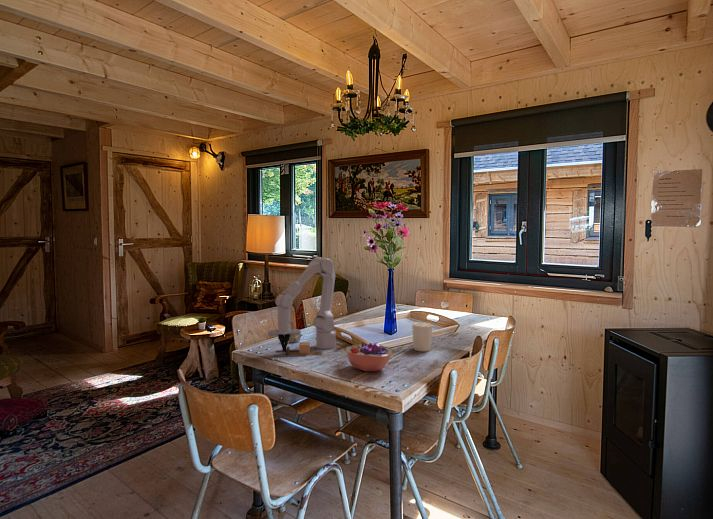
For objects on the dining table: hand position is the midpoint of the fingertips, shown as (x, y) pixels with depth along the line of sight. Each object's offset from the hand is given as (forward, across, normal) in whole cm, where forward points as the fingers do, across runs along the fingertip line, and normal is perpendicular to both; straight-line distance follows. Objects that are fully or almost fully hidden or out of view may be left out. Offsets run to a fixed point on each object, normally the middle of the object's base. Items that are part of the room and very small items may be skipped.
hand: (284, 350), depth 194 cm
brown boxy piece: (+3, +9, 0) cm, 9 cm away
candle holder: (+3, +65, +8) cm, 65 cm away
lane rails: (+3, +3, 0) cm, 4 cm away
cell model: (+3, +36, -20) cm, 41 cm away
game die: (+3, +3, +22) cm, 22 cm away
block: (+1, +9, 0) cm, 9 cm away
